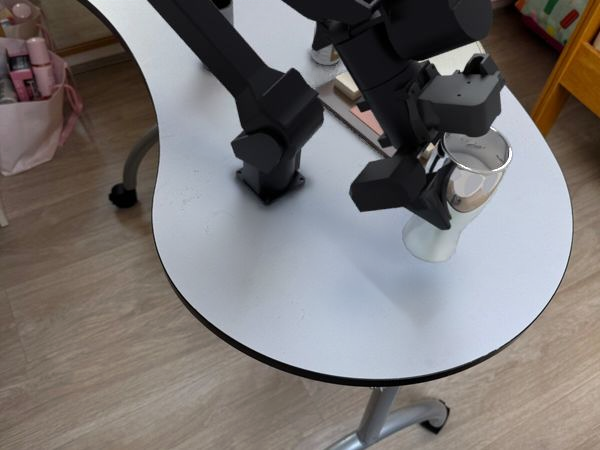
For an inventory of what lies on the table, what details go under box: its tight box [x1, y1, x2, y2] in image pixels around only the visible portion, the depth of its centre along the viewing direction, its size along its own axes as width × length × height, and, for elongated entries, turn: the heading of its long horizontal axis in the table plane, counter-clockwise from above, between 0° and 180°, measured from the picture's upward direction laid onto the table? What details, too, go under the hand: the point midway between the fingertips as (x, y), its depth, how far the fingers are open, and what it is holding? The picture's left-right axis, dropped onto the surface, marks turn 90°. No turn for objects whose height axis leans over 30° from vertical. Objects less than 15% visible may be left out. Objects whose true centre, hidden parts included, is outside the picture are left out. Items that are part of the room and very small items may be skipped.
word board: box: [313, 70, 434, 168], centre depth 81 cm, size 11×20×2 cm, turn 40°
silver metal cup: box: [401, 125, 514, 264], centre depth 58 cm, size 7×7×15 cm
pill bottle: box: [311, 23, 341, 66], centre depth 86 cm, size 4×4×8 cm
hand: (460, 206), depth 58 cm, fingers closed on silver metal cup, 6 cm apart
